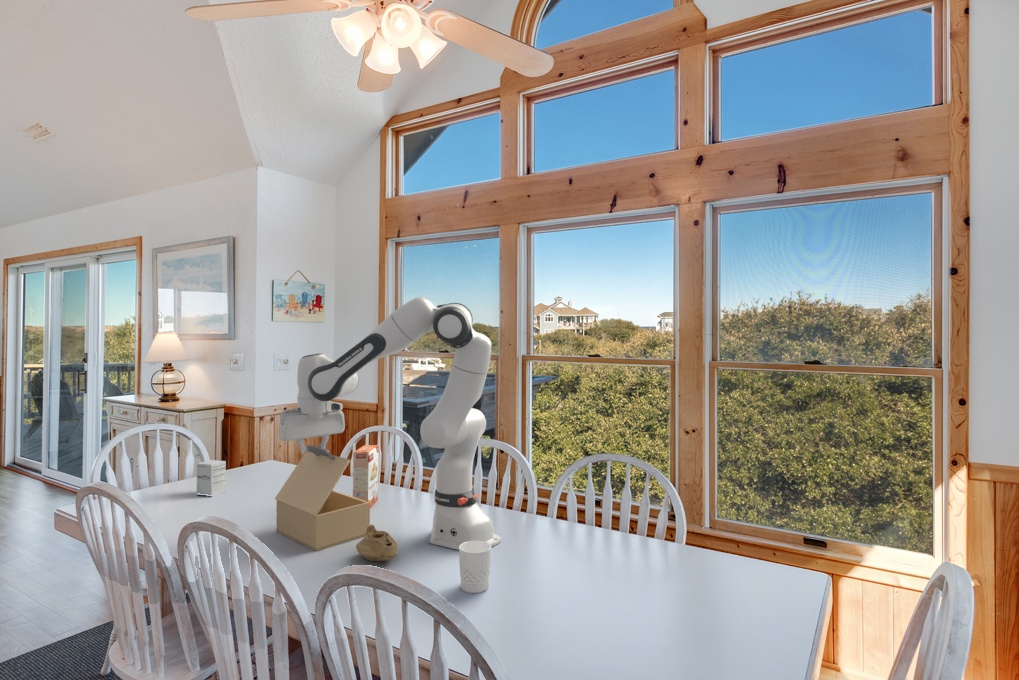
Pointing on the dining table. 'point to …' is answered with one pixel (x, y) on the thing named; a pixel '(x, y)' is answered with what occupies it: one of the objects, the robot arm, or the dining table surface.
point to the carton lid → (312, 480)
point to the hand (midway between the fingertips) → (313, 451)
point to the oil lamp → (377, 545)
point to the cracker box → (366, 473)
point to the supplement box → (211, 477)
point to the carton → (325, 522)
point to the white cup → (474, 566)
